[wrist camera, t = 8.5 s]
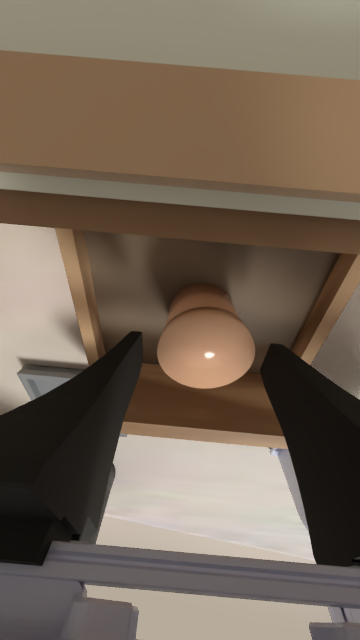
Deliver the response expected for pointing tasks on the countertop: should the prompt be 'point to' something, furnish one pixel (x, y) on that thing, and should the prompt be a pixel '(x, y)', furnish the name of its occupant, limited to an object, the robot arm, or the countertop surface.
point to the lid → (184, 102)
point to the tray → (45, 379)
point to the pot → (204, 339)
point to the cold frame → (189, 268)
